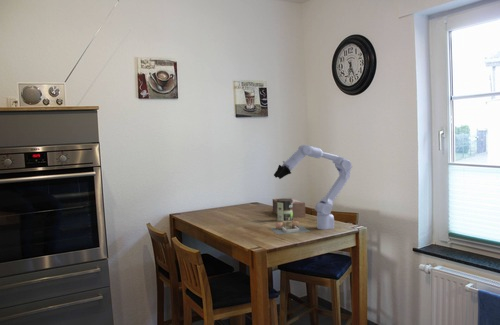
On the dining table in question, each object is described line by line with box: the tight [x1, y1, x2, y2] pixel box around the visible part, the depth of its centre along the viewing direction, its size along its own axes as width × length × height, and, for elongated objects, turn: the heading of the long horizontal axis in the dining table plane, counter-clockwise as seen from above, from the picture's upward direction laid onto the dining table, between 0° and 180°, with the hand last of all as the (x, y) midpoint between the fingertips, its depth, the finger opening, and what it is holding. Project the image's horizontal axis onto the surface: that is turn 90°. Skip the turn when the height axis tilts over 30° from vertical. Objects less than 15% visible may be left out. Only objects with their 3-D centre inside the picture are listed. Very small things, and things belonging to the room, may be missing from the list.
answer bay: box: [282, 226, 300, 233], centre depth 224 cm, size 8×8×2 cm
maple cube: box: [282, 221, 292, 229], centre depth 230 cm, size 4×4×4 cm
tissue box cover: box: [272, 197, 306, 219], centre depth 276 cm, size 26×14×10 cm, turn 16°
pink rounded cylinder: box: [291, 220, 300, 228], centre depth 231 cm, size 4×4×4 cm
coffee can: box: [276, 198, 294, 222], centre depth 254 cm, size 10×10×14 cm
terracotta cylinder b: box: [275, 221, 283, 230], centre depth 229 cm, size 4×4×4 cm
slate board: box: [269, 225, 312, 235], centre depth 226 cm, size 20×16×1 cm
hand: (276, 177), depth 220 cm, fingers open, 7 cm apart
